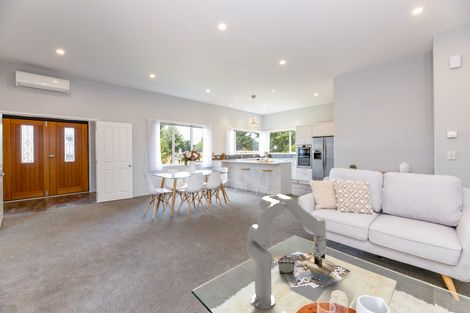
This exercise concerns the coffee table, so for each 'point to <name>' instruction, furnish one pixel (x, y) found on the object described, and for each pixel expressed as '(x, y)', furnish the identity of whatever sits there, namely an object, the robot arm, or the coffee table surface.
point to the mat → (309, 291)
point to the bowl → (320, 276)
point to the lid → (320, 267)
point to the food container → (286, 265)
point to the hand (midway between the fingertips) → (319, 261)
